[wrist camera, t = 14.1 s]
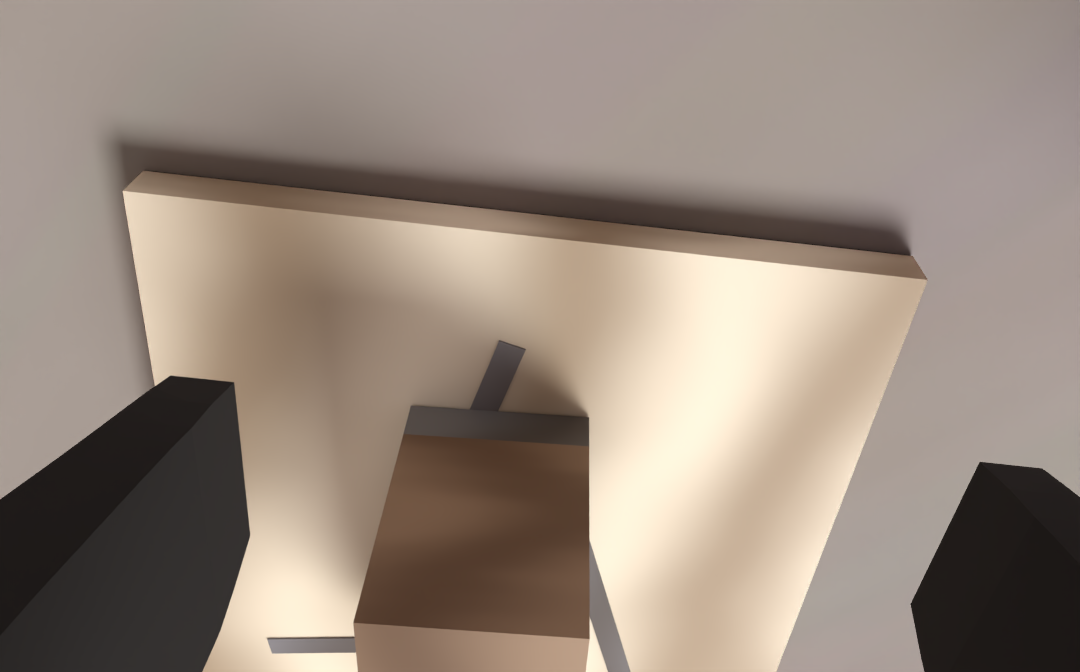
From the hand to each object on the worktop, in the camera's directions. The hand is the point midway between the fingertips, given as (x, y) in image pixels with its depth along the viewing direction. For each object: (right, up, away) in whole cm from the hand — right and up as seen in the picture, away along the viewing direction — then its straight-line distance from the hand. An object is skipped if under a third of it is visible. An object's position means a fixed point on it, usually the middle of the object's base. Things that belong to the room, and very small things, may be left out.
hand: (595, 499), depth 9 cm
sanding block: (-2, -3, +13) cm, 14 cm away
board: (-2, -3, +15) cm, 15 cm away
